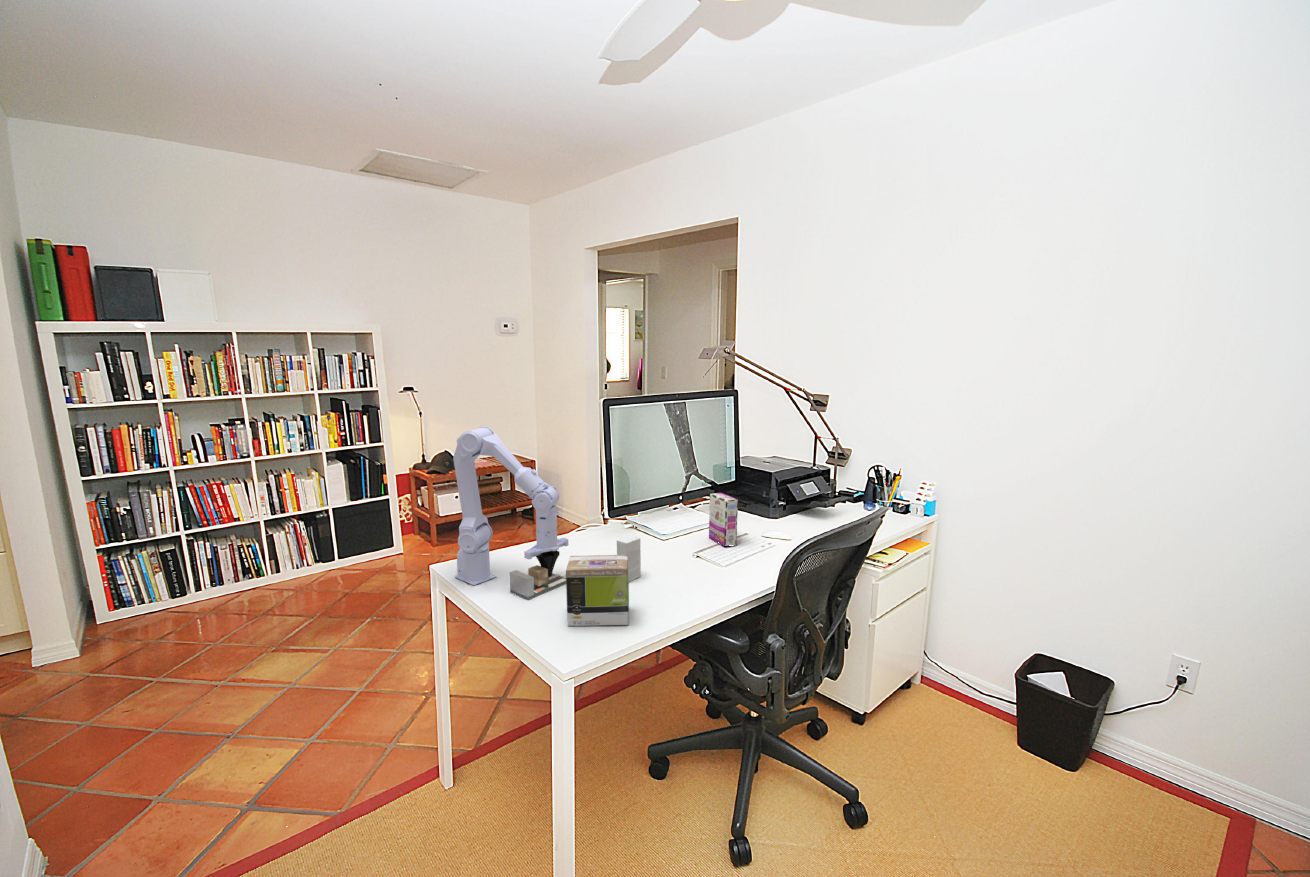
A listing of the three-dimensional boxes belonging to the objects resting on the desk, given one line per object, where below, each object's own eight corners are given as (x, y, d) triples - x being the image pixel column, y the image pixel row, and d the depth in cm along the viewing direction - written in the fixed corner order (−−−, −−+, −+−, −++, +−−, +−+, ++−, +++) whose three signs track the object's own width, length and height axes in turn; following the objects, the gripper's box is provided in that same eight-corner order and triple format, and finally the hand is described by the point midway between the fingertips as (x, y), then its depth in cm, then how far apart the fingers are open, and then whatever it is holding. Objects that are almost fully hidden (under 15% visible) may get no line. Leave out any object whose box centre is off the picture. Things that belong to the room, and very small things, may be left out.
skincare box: (630, 573, 170) (630, 534, 168) (641, 576, 167) (641, 537, 165) (616, 579, 165) (616, 539, 163) (627, 583, 163) (627, 543, 161)
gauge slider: (538, 579, 162) (538, 564, 161) (553, 585, 158) (552, 570, 157) (528, 583, 159) (528, 568, 158) (543, 589, 155) (542, 574, 154)
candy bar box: (737, 546, 193) (738, 499, 191) (724, 548, 191) (726, 501, 189) (720, 536, 203) (721, 491, 201) (708, 538, 201) (709, 493, 199)
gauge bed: (551, 575, 168) (551, 556, 167) (569, 582, 163) (569, 562, 162) (510, 592, 156) (509, 572, 155) (528, 600, 151) (527, 579, 150)
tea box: (629, 607, 148) (629, 553, 145) (628, 626, 138) (628, 568, 135) (571, 608, 147) (570, 553, 145) (566, 627, 137) (565, 569, 135)
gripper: (535, 539, 151) (537, 588, 153) (575, 526, 162) (576, 571, 164) (518, 534, 155) (520, 581, 157) (558, 521, 166) (559, 565, 169)
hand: (547, 576), depth 161 cm, fingers closed
